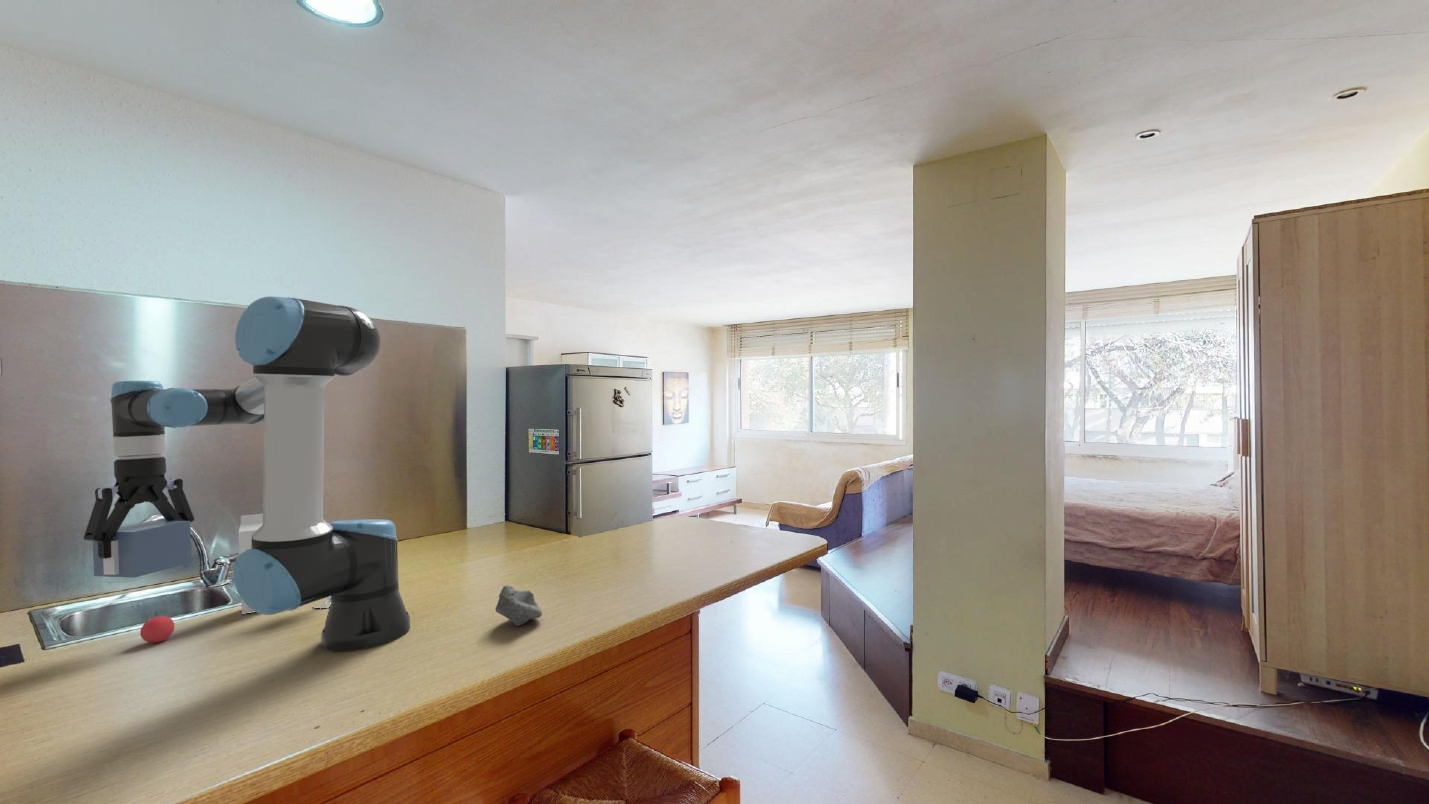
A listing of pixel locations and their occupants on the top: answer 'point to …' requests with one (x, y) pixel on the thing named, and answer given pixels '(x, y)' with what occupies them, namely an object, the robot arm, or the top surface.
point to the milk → (248, 539)
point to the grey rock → (517, 605)
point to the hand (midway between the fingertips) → (144, 566)
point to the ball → (157, 629)
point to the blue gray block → (148, 548)
